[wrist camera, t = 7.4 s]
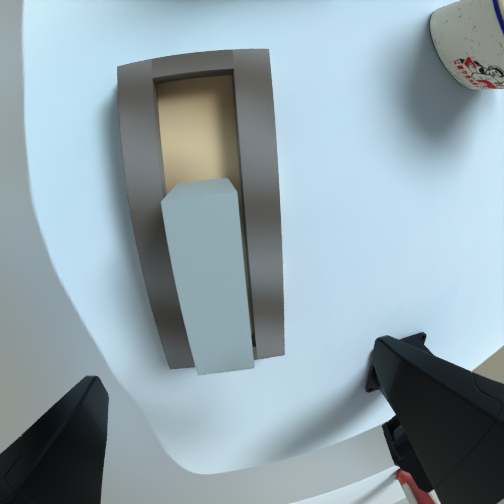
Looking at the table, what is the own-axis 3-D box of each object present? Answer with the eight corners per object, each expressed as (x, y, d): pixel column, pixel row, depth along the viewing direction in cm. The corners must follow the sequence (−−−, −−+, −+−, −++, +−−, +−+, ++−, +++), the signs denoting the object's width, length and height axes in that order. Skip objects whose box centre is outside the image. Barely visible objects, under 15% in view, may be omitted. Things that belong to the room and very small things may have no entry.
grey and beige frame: (280, 334, 22) (288, 354, 20) (169, 348, 21) (166, 369, 19) (265, 61, 15) (274, 48, 13) (124, 77, 14) (112, 67, 12)
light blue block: (241, 309, 20) (254, 367, 14) (198, 314, 19) (197, 375, 14) (227, 177, 17) (237, 192, 11) (177, 183, 16) (160, 201, 11)
